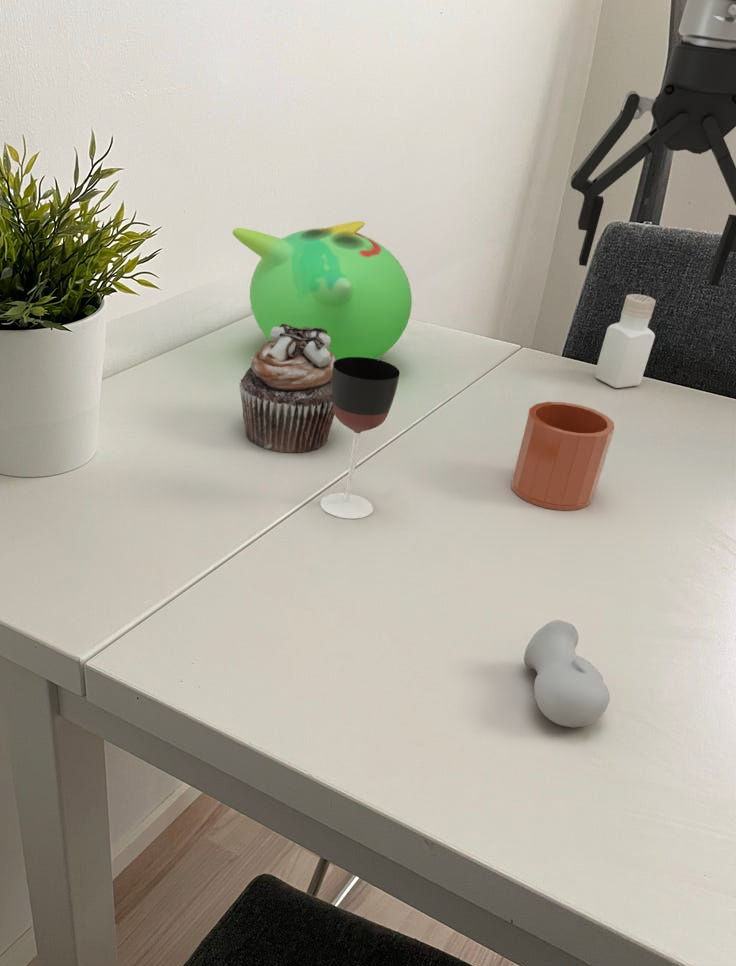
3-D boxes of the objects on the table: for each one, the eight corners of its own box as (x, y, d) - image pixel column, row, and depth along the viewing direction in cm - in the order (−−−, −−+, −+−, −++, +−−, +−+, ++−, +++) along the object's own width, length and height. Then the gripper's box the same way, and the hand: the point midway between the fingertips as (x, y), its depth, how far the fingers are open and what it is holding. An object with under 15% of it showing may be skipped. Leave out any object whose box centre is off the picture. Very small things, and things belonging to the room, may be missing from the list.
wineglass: (324, 487, 87) (342, 352, 80) (383, 500, 86) (405, 365, 79) (308, 510, 83) (325, 371, 76) (369, 525, 82) (392, 384, 75)
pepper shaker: (617, 374, 116) (641, 291, 111) (641, 387, 113) (668, 302, 108) (591, 377, 115) (614, 293, 109) (615, 390, 112) (640, 305, 106)
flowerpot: (591, 481, 92) (612, 409, 88) (592, 516, 86) (616, 441, 82) (512, 467, 93) (530, 396, 89) (509, 501, 87) (527, 426, 83)
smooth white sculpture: (594, 756, 62) (522, 727, 61) (575, 676, 69) (509, 650, 68) (635, 709, 60) (560, 678, 59) (612, 631, 66) (543, 602, 65)
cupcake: (232, 412, 98) (239, 311, 93) (328, 416, 100) (341, 316, 94) (239, 455, 91) (247, 347, 85) (344, 458, 92) (359, 352, 86)
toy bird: (427, 368, 113) (452, 232, 104) (337, 404, 102) (356, 256, 94) (304, 325, 122) (318, 197, 114) (209, 354, 111) (217, 215, 103)
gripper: (584, 30, 94) (528, 263, 106) (865, 63, 90) (774, 300, 102) (583, 25, 100) (530, 246, 112) (846, 56, 96) (762, 281, 108)
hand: (646, 272), depth 107 cm, fingers open, 13 cm apart
